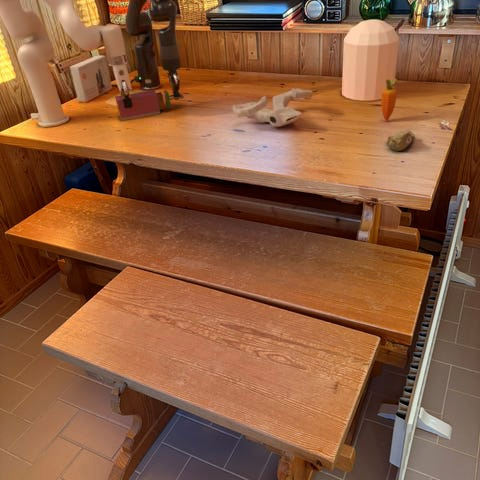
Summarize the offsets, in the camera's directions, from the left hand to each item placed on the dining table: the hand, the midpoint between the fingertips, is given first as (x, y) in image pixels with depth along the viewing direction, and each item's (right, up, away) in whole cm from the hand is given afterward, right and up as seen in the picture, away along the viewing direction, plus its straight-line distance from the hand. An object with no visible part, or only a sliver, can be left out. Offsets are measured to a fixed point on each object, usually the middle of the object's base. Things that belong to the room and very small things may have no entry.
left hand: (127, 104), depth 190 cm
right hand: (+20, +4, +5) cm, 21 cm away
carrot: (+99, -13, -24) cm, 103 cm away
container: (+99, +6, +3) cm, 100 cm away
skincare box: (-23, +14, +32) cm, 42 cm away
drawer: (+12, 0, +5) cm, 13 cm away
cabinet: (+4, -3, +4) cm, 6 cm away
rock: (+98, -26, -42) cm, 110 cm away
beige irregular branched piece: (+61, -13, -19) cm, 65 cm away
